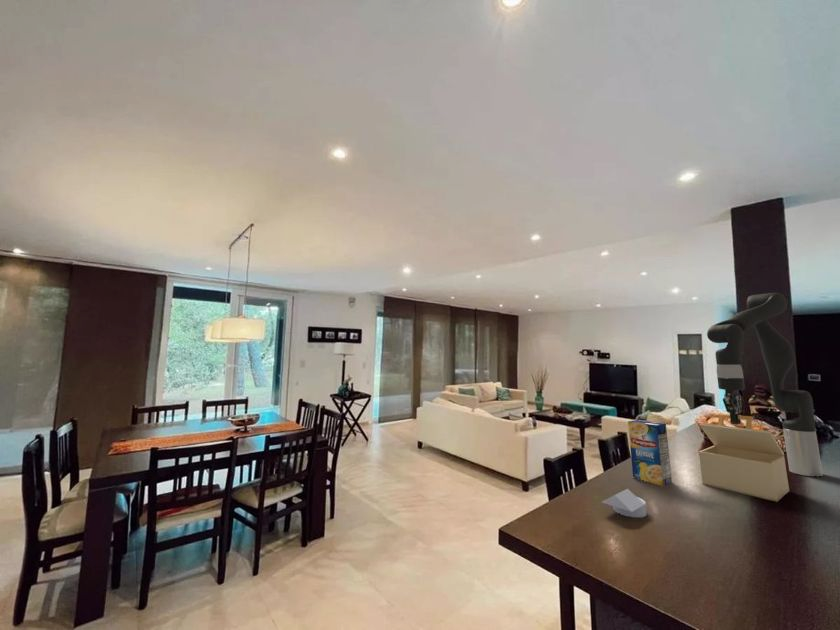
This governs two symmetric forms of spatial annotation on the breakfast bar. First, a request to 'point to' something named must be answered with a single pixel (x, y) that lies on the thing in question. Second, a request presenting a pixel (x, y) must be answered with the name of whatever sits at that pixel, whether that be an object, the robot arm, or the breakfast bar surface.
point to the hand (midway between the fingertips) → (735, 423)
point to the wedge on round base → (627, 504)
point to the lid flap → (741, 436)
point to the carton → (744, 472)
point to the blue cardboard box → (650, 451)
